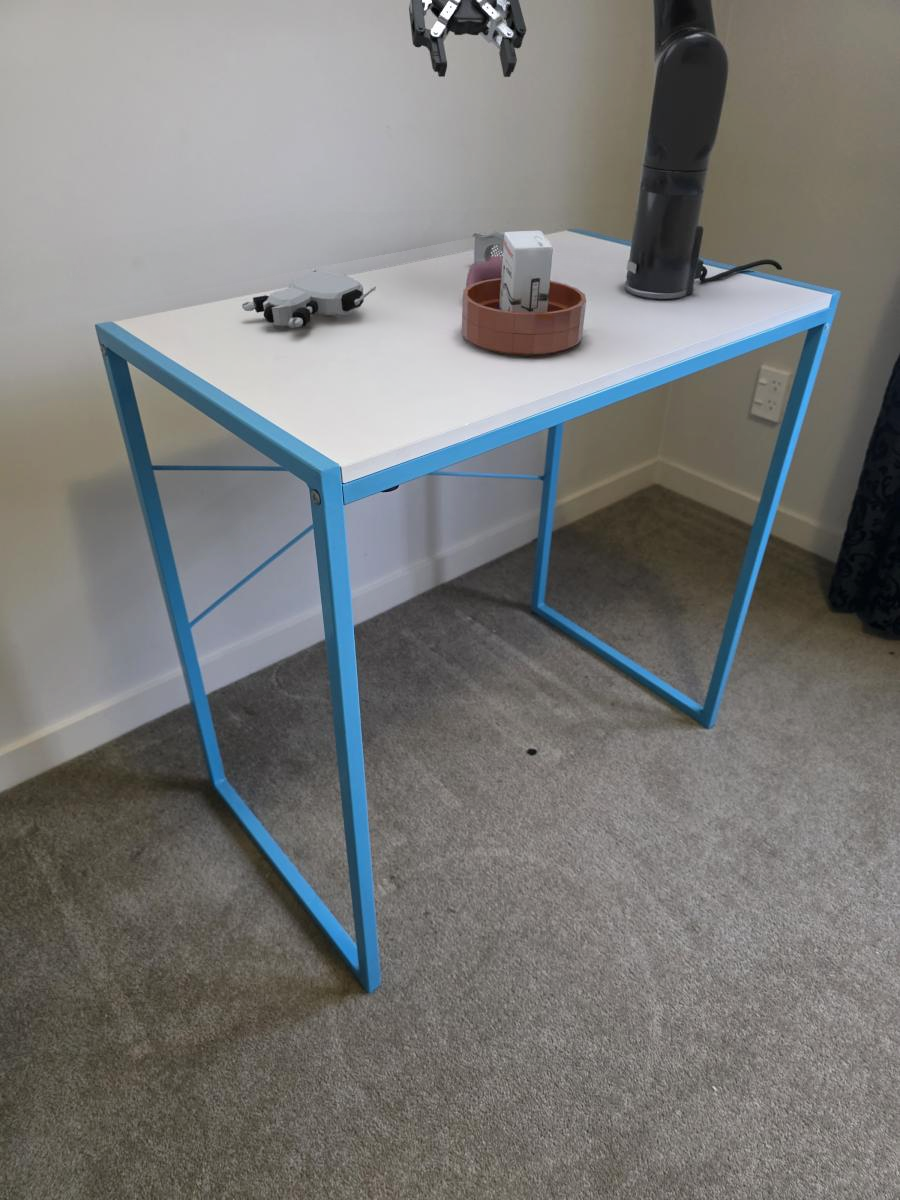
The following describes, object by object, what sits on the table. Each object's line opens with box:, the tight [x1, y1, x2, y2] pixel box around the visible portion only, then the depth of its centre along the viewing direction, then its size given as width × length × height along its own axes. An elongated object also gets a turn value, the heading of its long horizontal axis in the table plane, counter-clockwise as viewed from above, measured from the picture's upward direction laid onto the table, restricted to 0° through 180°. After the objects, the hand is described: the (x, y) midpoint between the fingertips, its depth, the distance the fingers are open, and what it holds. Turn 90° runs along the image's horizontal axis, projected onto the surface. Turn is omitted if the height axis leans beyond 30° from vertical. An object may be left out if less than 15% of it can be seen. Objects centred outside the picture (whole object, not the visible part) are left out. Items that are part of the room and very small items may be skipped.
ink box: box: [499, 230, 554, 313], centre depth 109 cm, size 9×5×12 cm, turn 6°
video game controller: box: [465, 255, 503, 289], centre depth 124 cm, size 10×5×7 cm, turn 84°
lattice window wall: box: [471, 231, 504, 264], centre depth 136 cm, size 12×2×6 cm, turn 49°
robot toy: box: [241, 269, 377, 329], centre depth 116 cm, size 12×4×15 cm
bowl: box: [461, 278, 587, 356], centre depth 111 cm, size 16×16×6 cm
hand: (476, 72), depth 107 cm, fingers open, 8 cm apart
